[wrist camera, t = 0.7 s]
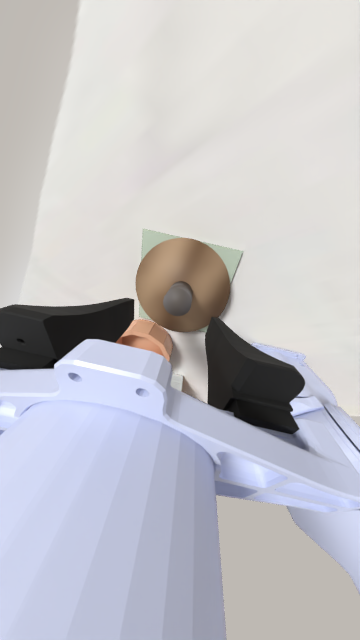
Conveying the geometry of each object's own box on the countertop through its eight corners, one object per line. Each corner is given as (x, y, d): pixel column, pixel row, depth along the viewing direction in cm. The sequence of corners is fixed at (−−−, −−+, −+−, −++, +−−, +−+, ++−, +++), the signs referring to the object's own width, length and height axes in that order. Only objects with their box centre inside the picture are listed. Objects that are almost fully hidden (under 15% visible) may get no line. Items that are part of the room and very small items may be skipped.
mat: (242, 251, 17) (243, 251, 17) (211, 332, 23) (211, 333, 23) (143, 229, 17) (142, 228, 17) (139, 315, 23) (138, 316, 23)
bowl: (177, 326, 24) (173, 340, 20) (168, 366, 29) (164, 382, 26) (119, 313, 24) (106, 324, 20) (121, 355, 29) (110, 370, 26)
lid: (243, 251, 17) (262, 252, 11) (211, 333, 23) (215, 357, 18) (142, 228, 17) (118, 220, 12) (139, 316, 23) (122, 336, 18)
